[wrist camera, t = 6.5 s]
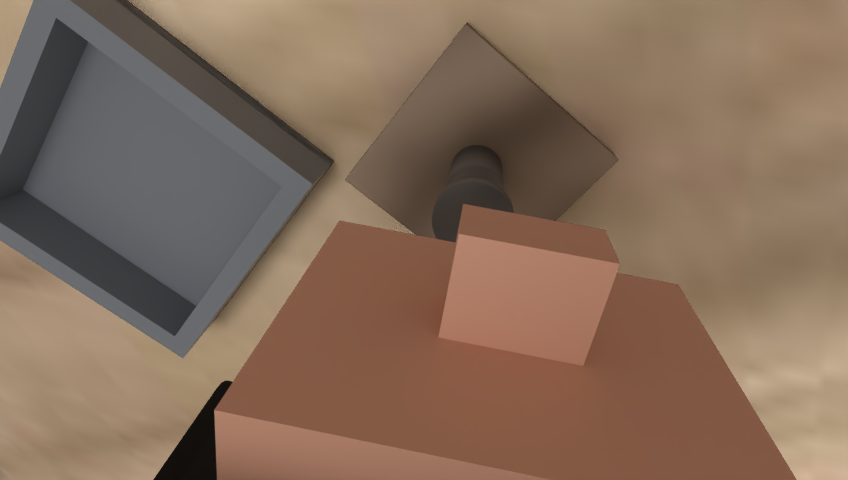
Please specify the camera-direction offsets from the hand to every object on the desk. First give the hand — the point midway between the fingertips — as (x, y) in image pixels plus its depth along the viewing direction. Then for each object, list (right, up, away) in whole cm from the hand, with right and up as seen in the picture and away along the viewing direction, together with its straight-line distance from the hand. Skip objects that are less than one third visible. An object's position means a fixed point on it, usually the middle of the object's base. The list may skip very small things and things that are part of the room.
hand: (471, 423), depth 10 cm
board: (+2, +7, +15) cm, 17 cm away
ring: (0, 0, +1) cm, 1 cm away
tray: (-14, +7, +17) cm, 24 cm away
